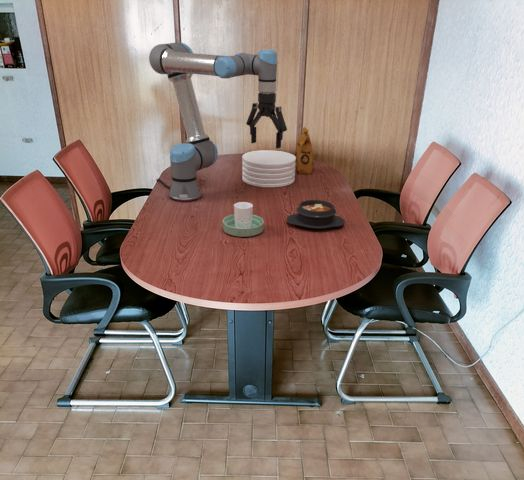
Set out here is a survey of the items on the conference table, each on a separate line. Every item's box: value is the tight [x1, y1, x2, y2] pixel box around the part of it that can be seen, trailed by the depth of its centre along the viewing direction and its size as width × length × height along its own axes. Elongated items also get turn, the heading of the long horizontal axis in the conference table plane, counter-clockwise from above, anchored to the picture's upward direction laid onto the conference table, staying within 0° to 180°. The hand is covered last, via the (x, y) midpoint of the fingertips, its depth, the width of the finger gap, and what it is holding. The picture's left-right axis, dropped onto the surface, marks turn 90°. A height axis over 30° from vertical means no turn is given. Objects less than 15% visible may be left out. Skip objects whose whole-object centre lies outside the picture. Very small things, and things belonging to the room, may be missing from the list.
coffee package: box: [294, 126, 314, 175], centre depth 285 cm, size 10×12×22 cm
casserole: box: [286, 199, 345, 230], centre depth 223 cm, size 25×19×8 cm
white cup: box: [233, 201, 254, 228], centre depth 216 cm, size 8×8×10 cm
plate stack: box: [241, 149, 296, 188], centre depth 274 cm, size 28×28×12 cm
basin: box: [221, 213, 265, 238], centre depth 218 cm, size 17×17×4 cm
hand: (265, 145), depth 230 cm, fingers open, 13 cm apart
